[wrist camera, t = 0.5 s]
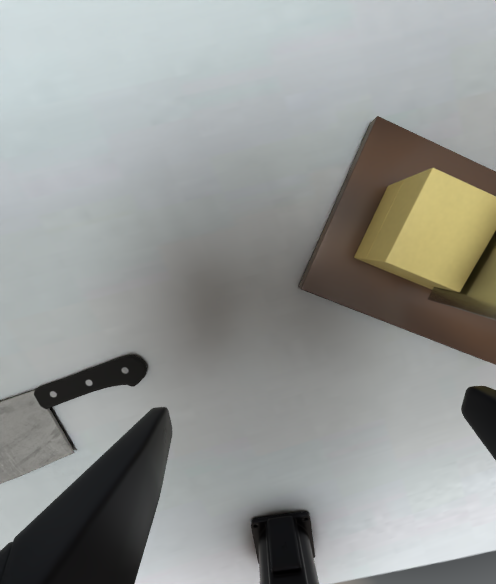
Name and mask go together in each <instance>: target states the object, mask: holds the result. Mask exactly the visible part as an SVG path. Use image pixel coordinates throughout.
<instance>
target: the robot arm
mask: <svg viewBox="0 0 496 584" xmlns="http://www.w3.org/2000/svg"><path fill="white" fill-rule="evenodd" d="M461 410H462V414H463V416H464V418H465V419H466V420H467V422H468V423H469V425H470V426H471V427H472V429H473V430H474V431H475V433H476V434H477V436H478V437H479V438H480V440H481V441H482V442H483V444H484V445H485V446H486V448H487V449H488V451H489V452H490V453H491V455H492V456H493V457H494V459H495V460H496V390H494V389H491V388H489V387H486V386H473V387H469V388H468V389H467V390H466V393H465V396H464V400H463V404H462V408H461ZM171 438H172V425H171V420H170V416H169V411H168V409H167V408H166V407H159V408H153V409H151V410H150V411H149V412H148V413H147V414H146V415H145V416H144V417H143V418H142V419H141V420H139V421H138V422H137V423H136V424H135V425H134V426H133V427H132V428H131V429H130V430H129V431H128V432H127V433H126V434H125V435H124V436H122V437H121V438H120V439H119V440H118V441H117V442H116V443H115V444H114V445H113V446H112V447H111V448H110V449H109V450H108V451H106V452H105V453H104V454H103V455H102V456H101V457H100V458H99V459H98V460H97V461H96V462H95V463H94V464H93V465H92V466H91V467H89V468H88V469H87V470H86V471H85V472H84V473H83V474H82V475H81V476H80V477H79V478H78V479H77V480H76V481H75V482H74V483H72V484H71V485H70V486H69V487H68V488H67V489H66V490H65V491H64V492H63V493H62V494H61V495H60V496H59V497H58V498H56V499H55V500H54V501H53V502H52V503H51V504H50V505H49V506H48V507H47V508H46V509H45V510H44V511H43V512H42V513H41V514H39V515H38V516H37V517H36V518H35V519H34V520H33V521H32V522H31V523H30V524H29V525H28V526H27V527H26V528H25V529H24V530H22V531H21V532H20V533H19V534H18V535H17V536H16V537H15V538H14V541H13V542H10V543H8V544H7V545H6V546H5V547H4V548H3V549H2V550H1V551H0V584H134V583H135V580H136V576H137V573H138V569H139V566H140V563H141V559H142V556H143V552H144V549H145V546H146V542H147V539H148V535H149V532H150V529H151V525H152V522H153V518H154V515H155V512H156V508H157V505H158V501H159V497H160V493H161V488H162V484H163V479H164V474H165V469H166V464H167V458H168V453H169V448H170V443H171ZM251 528H252V533H253V538H254V543H255V548H256V553H257V558H258V563H259V571H260V584H319V582H318V577H317V572H316V568H315V563H314V557H315V553H314V545H313V537H312V529H311V521H310V516H309V513H308V512H297V513H290V514H282V515H275V516H267V517H260V518H254V519H252V520H251Z"/></svg>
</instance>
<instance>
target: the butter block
mask: <svg viewBox="0 0 496 584" xmlns="http://www.w3.org/2000/svg"><path fill="white" fill-rule="evenodd" d="M495 231H496V196H494V195H491V194H489V193H487V192H485V191H483V190H481V189H478V188H476V187H474V186H472V185H470V184H468V183H465V182H463V181H461V180H459V179H457V178H455V177H452V176H450V175H448V174H446V173H444V172H442V171H439V170H437V169H435V168H431V169H428V170H426V171H423V172H421V173H418V174H416V175H413V176H411V177H408V178H406V179H404V180H401V181H399V182H396V183H394V184H391V185H389V186H388V187H387V189H386V191H385V193H384V195H383V197H382V200H381V202H380V204H379V206H378V208H377V210H376V212H375V214H374V216H373V218H372V221H371V223H370V225H369V227H368V229H367V231H366V233H365V235H364V237H363V239H362V242H361V244H360V246H359V248H358V250H357V252H356V254H355V256H354V258H356V259H358V260H361V261H363V262H365V263H368V264H370V265H373V266H375V267H378V268H380V269H383V270H385V271H387V272H390V273H392V274H395V275H397V276H400V277H402V278H405V279H407V280H409V281H412V282H414V283H417V284H419V285H422V286H424V287H427V288H429V289H431V290H432V289H433V288H434V287H438V288H442V289H446V290H451V291H455V292H460V291H461V289H462V288H463V286H464V284H465V282H466V281H467V279H468V277H469V276H470V274H471V272H472V270H473V269H474V267H475V265H476V264H477V262H478V260H479V258H480V257H481V255H482V253H483V252H484V250H485V248H486V246H487V245H488V243H489V241H490V239H491V238H492V236H493V234H494V233H495Z"/></svg>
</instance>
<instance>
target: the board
mask: <svg viewBox="0 0 496 584" xmlns="http://www.w3.org/2000/svg"><path fill="white" fill-rule="evenodd" d="M431 168H435V169H437V170H439V171H442V172H444V173H446V174H448V175H450V176H452V177H455V178H457V179H459V180H461V181H463V182H465V183H468V184H470V185H472V186H474V187H476V188H478V189H481V190H483V191H485V192H487V193H489V194H491V195H496V172H495V171H493V170H491V169H489V168H487V167H485V166H482V165H480V164H478V163H476V162H474V161H472V160H470V159H468V158H466V157H463V156H461V155H459V154H457V153H455V152H453V151H451V150H449V149H446V148H444V147H442V146H440V145H438V144H436V143H434V142H432V141H430V140H427V139H425V138H423V137H421V136H419V135H417V134H415V133H413V132H410V131H408V130H406V129H404V128H402V127H400V126H398V125H396V124H393V123H391V122H389V121H387V120H385V119H383V118H381V117H379V116H377V117H376V118H375V119H374V120H373V121H372V122H371V123H370V125H369V128H368V130H367V132H366V134H365V137H364V139H363V141H362V144H361V146H360V148H359V150H358V153H357V155H356V157H355V159H354V162H353V164H352V166H351V169H350V171H349V173H348V175H347V178H346V180H345V182H344V184H343V187H342V189H341V191H340V194H339V196H338V198H337V200H336V203H335V205H334V207H333V209H332V212H331V214H330V216H329V219H328V221H327V223H326V225H325V228H324V230H323V232H322V234H321V237H320V239H319V241H318V244H317V246H316V248H315V250H314V253H313V255H312V257H311V260H310V262H309V264H308V266H307V269H306V271H305V273H304V275H303V278H302V280H301V282H300V285H299V288H301V289H302V290H305V291H307V292H310V293H312V294H315V295H318V296H320V297H323V298H325V299H328V300H331V301H333V302H336V303H338V304H341V305H343V306H346V307H349V308H351V309H354V310H356V311H359V312H361V313H364V314H367V315H369V316H372V317H374V318H377V319H379V320H382V321H385V322H387V323H390V324H392V325H395V326H397V327H400V328H403V329H405V330H408V331H410V332H413V333H416V334H418V335H421V336H423V337H426V338H428V339H431V340H434V341H436V342H439V343H441V344H444V345H446V346H449V347H452V348H454V349H457V350H459V351H462V352H464V353H467V354H470V355H472V356H475V357H477V358H480V359H482V360H485V361H488V362H490V363H493V364H495V365H496V321H495V320H492V319H489V318H486V317H483V316H479V315H476V314H473V313H470V312H466V311H463V310H460V309H457V308H453V307H450V306H447V305H444V304H440V303H437V302H434V301H431V300H428V299H427V298H428V297H429V295H430V293H431V291H432V290H431V289H429V288H427V287H424V286H422V285H419V284H417V283H414V282H412V281H409V280H407V279H405V278H402V277H400V276H397V275H395V274H392V273H390V272H387V271H385V270H383V269H380V268H378V267H375V266H373V265H370V264H368V263H365V262H363V261H361V260H358V259H356V258H354V256H355V254H356V252H357V250H358V248H359V246H360V244H361V242H362V239H363V237H364V235H365V233H366V231H367V229H368V227H369V225H370V223H371V221H372V218H373V216H374V214H375V212H376V210H377V208H378V206H379V204H380V202H381V200H382V197H383V195H384V193H385V191H386V189H387V187H388V186H389V185H391V184H394V183H396V182H399V181H401V180H404V179H406V178H408V177H411V176H413V175H416V174H418V173H421V172H423V171H426V170H428V169H431Z"/></svg>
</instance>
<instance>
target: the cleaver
mask: <svg viewBox="0 0 496 584" xmlns="http://www.w3.org/2000/svg"><path fill="white" fill-rule="evenodd" d="M146 371H147V367H146V364H145V362H144V361H143V360H142V359H140V358H138V357H137V356H135V355H128V356H124V357H120V358H118V359H115V360H112V361H109V362H107V363H104V364H101V365H99V366H96V367H93V368H90V369H87V370H85V371H82V372H80V373H77V374H75V375H72V376H69V377H67V378H64V379H61V380H58V381H56V382H53V383H50V384H47V385H44V386H41V387H39V388H37V389H35V390H32V391H30V392H27V393H24V394H21V395H18V396H15V397H12V398H9V399H6V400H3V401H0V484H1V483H4V482H6V481H9V480H11V479H14V478H17V477H19V476H21V475H24V474H26V473H29V472H31V471H33V470H36V469H38V468H40V467H43V466H45V465H47V464H49V463H52V462H54V461H56V460H59V459H61V458H63V457H66V456H68V455H71V454H73V453H74V451H73V449H72V446H71V444H70V442H69V441H68V439H67V437H66V436H65V434H64V432H63V430H62V429H61V427H60V425H59V424H58V422H57V420H56V419H55V417H54V415H53V414H52V412H51V410H50V407H53V406H55V405H58V404H61V403H63V402H66V401H68V400H71V399H74V398H77V397H79V396H82V395H85V394H87V393H90V392H93V391H97V390H100V389H103V388H107V387H112V386H117V385H129V386H135V385H137V384H138V383H139V382H140V381H141V380H142V379H143V378H144V377H145V374H146Z"/></svg>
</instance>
